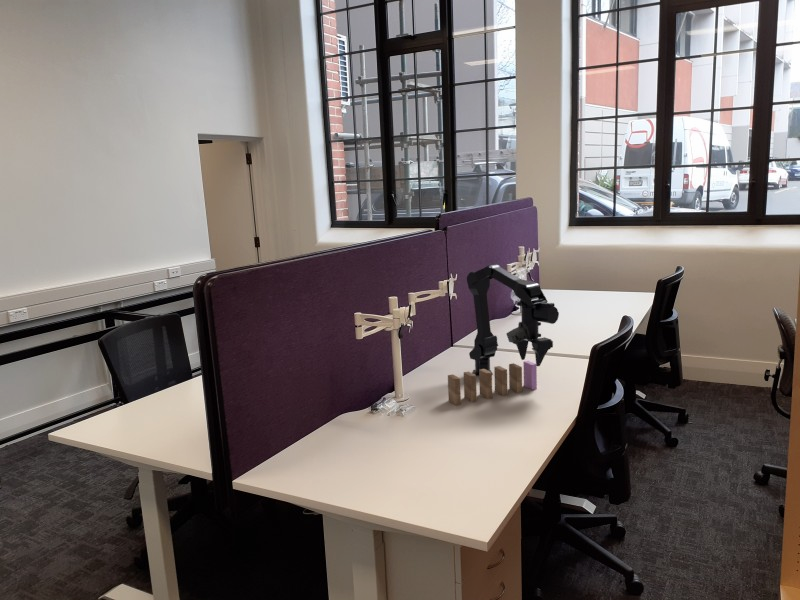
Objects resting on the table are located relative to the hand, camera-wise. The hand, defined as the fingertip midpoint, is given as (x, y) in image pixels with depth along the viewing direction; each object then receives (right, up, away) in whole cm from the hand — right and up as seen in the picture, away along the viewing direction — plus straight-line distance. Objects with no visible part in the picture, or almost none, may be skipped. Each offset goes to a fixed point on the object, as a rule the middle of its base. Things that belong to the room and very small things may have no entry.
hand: (530, 362), depth 214 cm
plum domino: (0, -9, +2) cm, 9 cm away
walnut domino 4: (-11, -10, -3) cm, 15 cm away
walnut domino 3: (-16, -11, -5) cm, 20 cm away
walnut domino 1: (-27, -12, -9) cm, 31 cm away
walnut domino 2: (-22, -12, -7) cm, 26 cm away
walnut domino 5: (-5, -10, 0) cm, 11 cm away
